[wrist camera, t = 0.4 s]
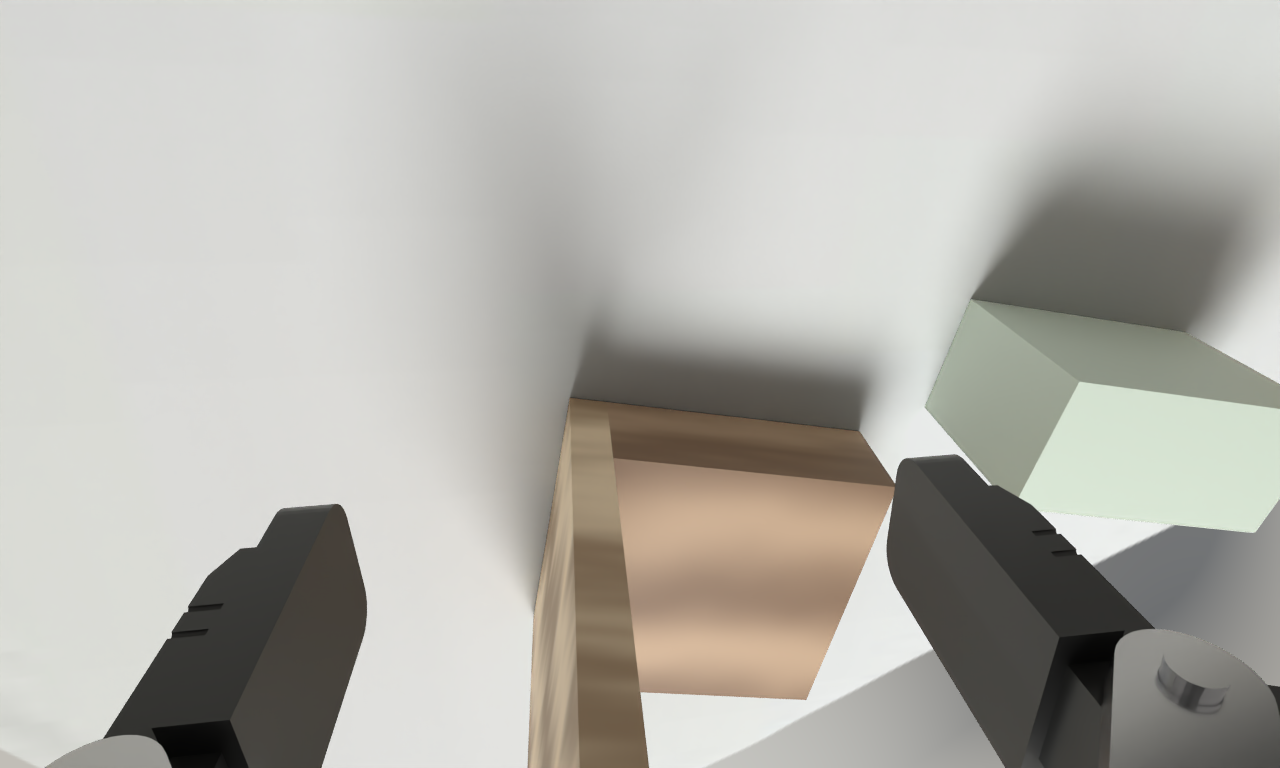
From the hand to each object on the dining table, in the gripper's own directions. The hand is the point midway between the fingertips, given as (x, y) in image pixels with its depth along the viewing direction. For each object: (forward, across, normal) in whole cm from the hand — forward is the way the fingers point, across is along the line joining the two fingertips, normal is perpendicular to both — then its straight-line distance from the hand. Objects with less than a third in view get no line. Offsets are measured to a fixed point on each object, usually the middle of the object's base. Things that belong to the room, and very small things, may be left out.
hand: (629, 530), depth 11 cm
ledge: (+18, -4, +14) cm, 23 cm away
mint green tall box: (+18, -19, +7) cm, 27 cm away
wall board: (+18, +2, +13) cm, 22 cm away
